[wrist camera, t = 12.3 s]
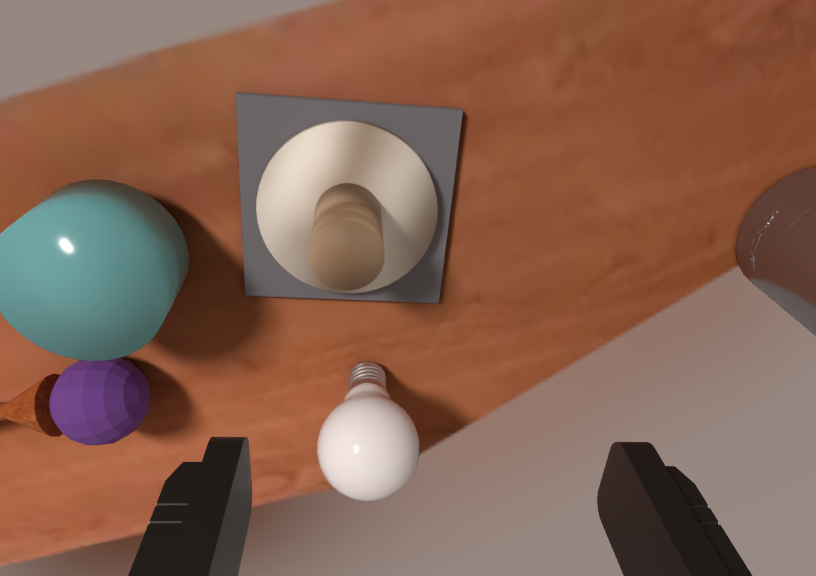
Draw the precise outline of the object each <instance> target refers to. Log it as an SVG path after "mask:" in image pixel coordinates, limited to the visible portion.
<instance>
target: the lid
mask: <svg viewBox="0 0 816 576" xmlns="http://www.w3.org/2000/svg"><path fill="white" fill-rule="evenodd" d="M256 213H257V221H258V225H259V229H260V233H261V235H262V238H263V240H264V243H265V244H266V246H267V248H268V250H269V251H270V253H271V254H272V256H273V257H274V258H275V260H276V261H277V262H278V263H279V264H280V265H281V266H282V267H283V268H284V269H285V270H286V271H288V272H289V273H290V274H291V275H293V276H294V277H296V278H297V279H299V280H300V281H302V282H304V283H306V284H308V285H311V286H313V287H316V288H319V289H322V290H326V291H330V292H336V293H361V292H367V291H371V290H375V289H379V288H381V287H384V286H387V285H389V284H391V283H393V282H395V281H396V280H398V279H400V278H401V277H402V276H404V275H405V274H407V273H408V272H409V271H410V270H411V269H412V268H413V267H414V266H415V265H416V264H417V263H418V262H419V261H420V259H421V258H422V257H423V255H424V254H425V252H426V251H427V249H428V247H429V245H430V243H431V241H432V238H433V235H434V232H435V228H436V223H437V213H438V206H437V197H436V192H435V188H434V185H433V182H432V179H431V176H430V174H429V171H428V169H427V167H426V166H425V164H424V162H423V160H422V159H421V158H420V156H419V155H418V154H417V152H416V151H415V150H414V149H413V148H412V147H411V146H410V145H409V144H408V143H407V142H406V141H404V140H403V139H402V138H400V137H399V136H398V135H396V134H394V133H393V132H391V131H389V130H387V129H385V128H383V127H380V126H378V125H375V124H371V123H368V122H364V121H356V120H335V121H327V122H323V123H320V124H316V125H313V126H311V127H309V128H306V129H304V130H302V131H301V132H299V133H297V134H296V135H294V136H293V137H291V138H290V139H289V140H288V141H286V142H285V143H284V144H283V145H282V146H281V147H280V148H279V149H278V150H277V151H276V153H275V154H274V156H273V157H272V158H271V160H270V161H269V163H268V165H267V167H266V169H265V171H264V174H263V176H262V179H261V182H260V185H259V188H258V194H257V201H256Z"/></svg>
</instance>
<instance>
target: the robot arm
mask: <svg viewBox="0 0 816 576" xmlns="http://www.w3.org/2000/svg"><path fill="white" fill-rule="evenodd" d="M736 256H737V260H738V265H739V267H740V269H741V270H742V272H743V274H744V275H745V276H746V277H747V278H748V279H749V280H750V281H751V282H752V283H753V284H754V285H756V286H757V287H758V288H759V289H761V290H762V291H763V292H764V293H766V294H767V295H768V296H769V297H770V298H771V299H772V300H774V301H775V302H776V303H777V304H779V305H780V306H781V307H782V308H783V309H784V310H785V311H787V312H788V313H789V314H790V315H791V316H793V317H794V318H795V319H796V320H797V321H799V322H800V323H801V324H802V325H803V326H805V327H806V328H807V329H808V330H809V331H811V332H812V333H813V334H814V335H816V167H814V168H809V169H806V170H803V171H800V172H796V173H794V174H792V175H790V176H788V177H786V178H784V179H782V180H781V181H779V182H778V183H776V184H775V185H774V186H772V187H771V188H770V189H768V190H767V191H766V192H765V193H764V194H763V195H762V196H761V197H760V198H759V199H758V200H757V201H756V202H755V203H754V205H753V206H752V208H751V209H750V210H749V212H748V213H747V215H746V217H745V219H744V221H743V223H742V225H741V227H740V230H739V234H738V237H737V241H736ZM597 504H598V512H599V516H600V519H601V522H602V525H603V527H604V529H605V532H606V534H607V537H608V539H609V541H610V544H611V546H612V548H613V551H614V553H615V556H616V558H617V561H618V563H619V565H620V568H621V570H622V573H623V575H624V576H752V575H751V573H750V571H749V570H748V568H747V567H746V565H745V563H744V562H743V560H742V559H741V557H740V555H739V554H738V552H737V551H736V549H735V547H734V546H733V544H732V543H731V541H730V539H729V538H728V536H727V535H726V533H725V531H724V530H723V528H722V527H721V525H718V520H717V519H716V517H715V515H714V514H713V512H712V511H711V509H710V508H708V507H707V505H708V504H707V503H706V501H705V500H704V498H703V497H702V495H701V493H700V491H699V490H698V488H697V487H696V485H695V484H694V483H693V482H692V481H691V480H690V479H689V478H687V477H686V476H685V475H684V474H683V473H682V472H681V471H679V470H678V469H677V468H676V467H674V466H665V465H664V463H663V461H662V460H661V458H660V456H659V455H658V453H657V451H656V449H655V448H654V446H653V445H652V444H650V443H648V442H615V443H613V444H612V446H611V449H610V452H609V455H608V459H607V462H606V466H605V469H604V473H603V476H602V479H601V483H600V486H599V490H598V497H597ZM251 506H252V481H251V468H250V455H249V443H248V438H247V437H211V438H210V440H209V443H208V445H207V448H206V451H205V454H204V457H203V460H202V462H183V463H182V464H181V465H180V466H179V467H178V468H177V469H176V470H175V471H174V472H173V473H172V474H171V475H170V476H169V478H168V479H167V480H166V481H165V483H164V486H163V488H162V491H161V494H160V496H159V499H158V501H157V507H155V509H154V511H153V514H152V516H151V519H150V524H149V525H148V527H147V529H146V532H145V534H144V537H143V539H142V542H141V544H140V547H139V550H138V552H137V555H136V557H135V560H134V562H133V565H132V567H131V570H130V572H129V575H128V576H238V571H239V567H240V562H241V558H242V553H243V548H244V544H245V539H246V534H247V530H248V525H249V520H250V514H251Z"/></svg>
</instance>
